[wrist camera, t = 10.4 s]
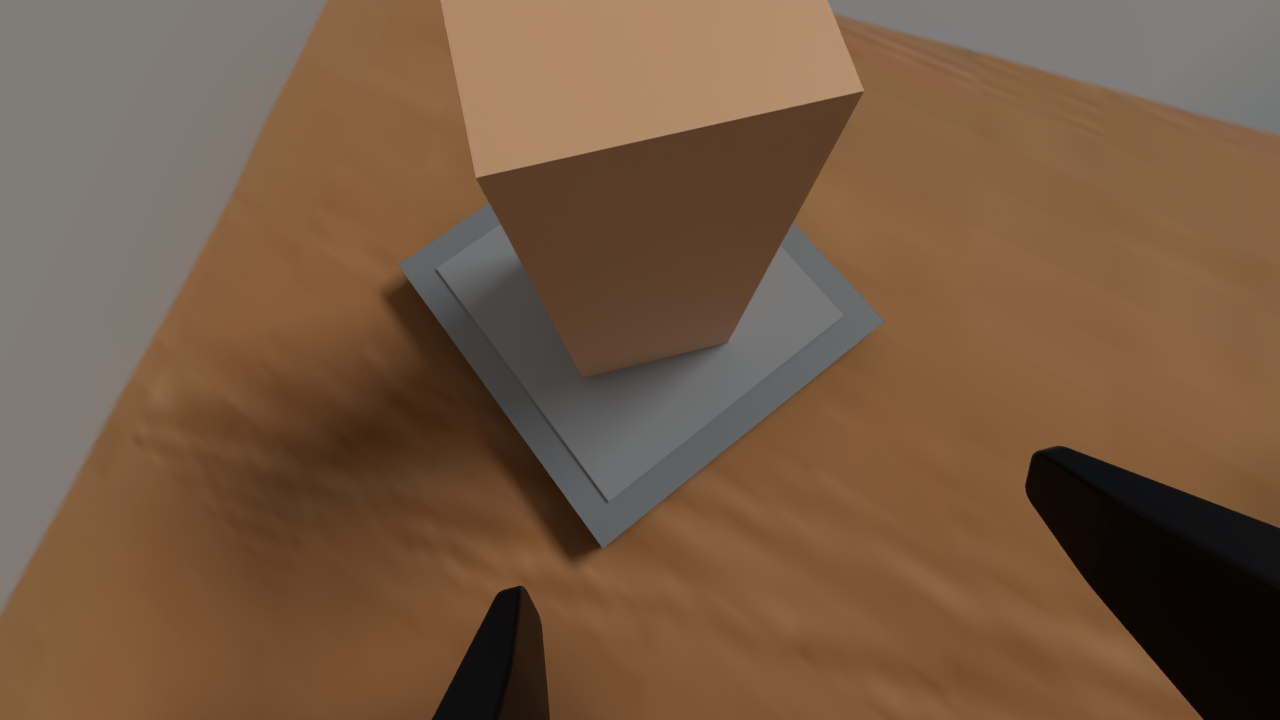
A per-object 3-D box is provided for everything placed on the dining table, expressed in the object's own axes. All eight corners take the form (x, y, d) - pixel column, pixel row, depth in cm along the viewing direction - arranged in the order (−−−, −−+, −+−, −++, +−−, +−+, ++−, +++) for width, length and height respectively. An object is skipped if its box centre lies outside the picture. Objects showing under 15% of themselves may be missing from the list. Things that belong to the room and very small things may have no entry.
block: (727, 342, 19) (863, 91, 7) (582, 378, 18) (476, 178, 7) (688, 211, 20) (751, -192, 8) (551, 243, 20) (416, -125, 8)
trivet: (605, 545, 18) (602, 548, 17) (411, 277, 21) (396, 263, 20) (871, 331, 20) (885, 320, 19) (664, 105, 22) (665, 82, 21)
